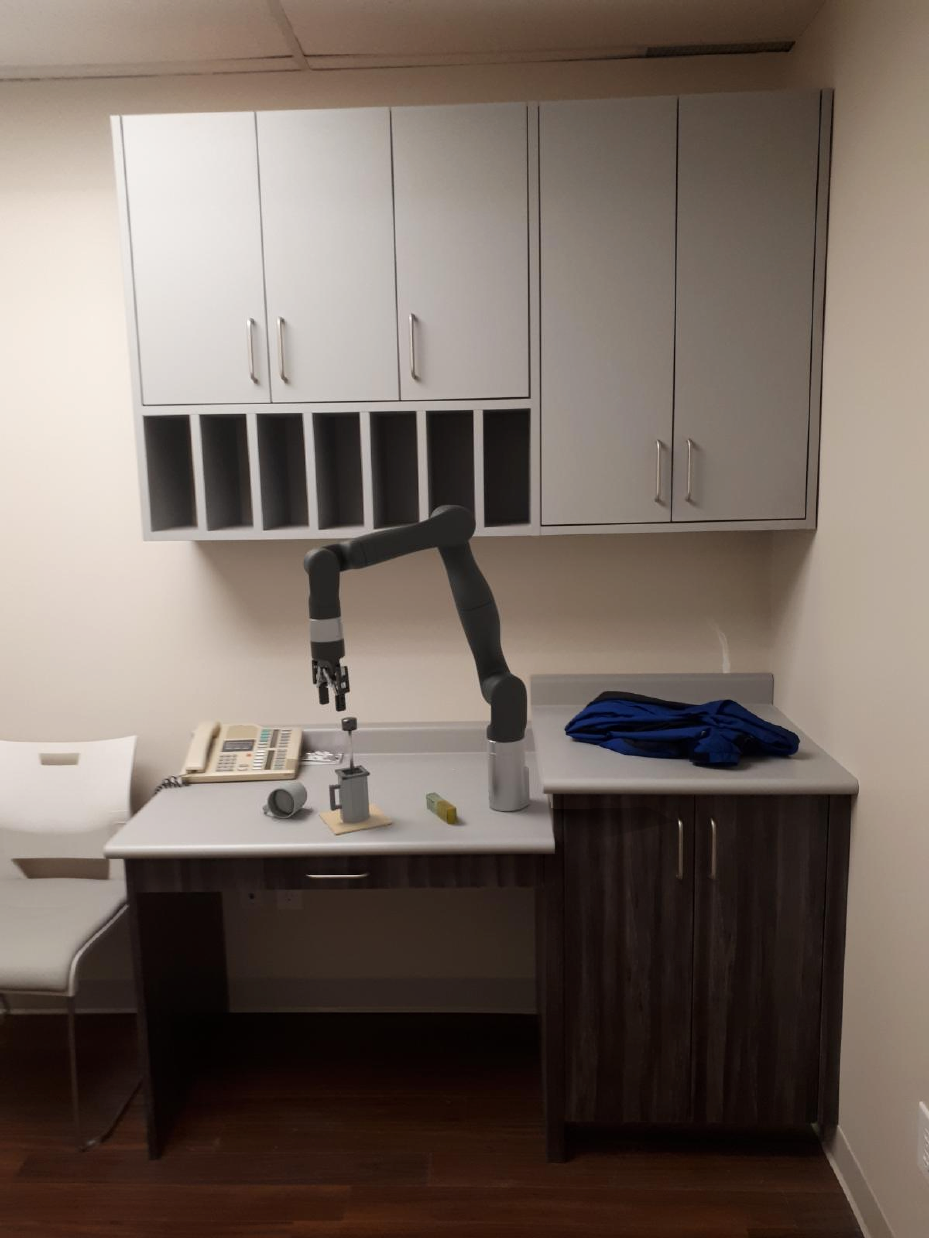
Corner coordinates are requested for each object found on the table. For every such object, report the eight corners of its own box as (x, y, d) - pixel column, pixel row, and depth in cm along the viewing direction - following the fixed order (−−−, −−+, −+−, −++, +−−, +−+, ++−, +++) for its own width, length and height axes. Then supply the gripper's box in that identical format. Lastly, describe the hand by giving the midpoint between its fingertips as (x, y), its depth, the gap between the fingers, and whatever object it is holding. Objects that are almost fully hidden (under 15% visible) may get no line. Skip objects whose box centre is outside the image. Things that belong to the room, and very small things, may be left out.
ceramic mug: (310, 807, 225) (308, 777, 224) (296, 819, 217) (293, 789, 216) (271, 805, 228) (269, 776, 227) (256, 817, 220) (253, 787, 219)
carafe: (373, 804, 225) (370, 758, 223) (392, 823, 213) (389, 774, 211) (318, 815, 220) (315, 767, 218) (335, 835, 207) (331, 785, 205)
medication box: (426, 809, 221) (425, 794, 221) (436, 807, 223) (435, 791, 222) (448, 825, 211) (446, 809, 210) (458, 822, 212) (457, 806, 211)
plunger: (357, 771, 217) (354, 716, 215) (362, 776, 213) (358, 719, 211) (342, 774, 215) (339, 718, 213) (347, 778, 212) (343, 722, 210)
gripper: (356, 638, 198) (361, 710, 201) (328, 631, 210) (333, 698, 212) (325, 643, 194) (331, 716, 197) (298, 635, 206) (304, 704, 208)
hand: (332, 707), depth 204 cm, fingers open, 8 cm apart
